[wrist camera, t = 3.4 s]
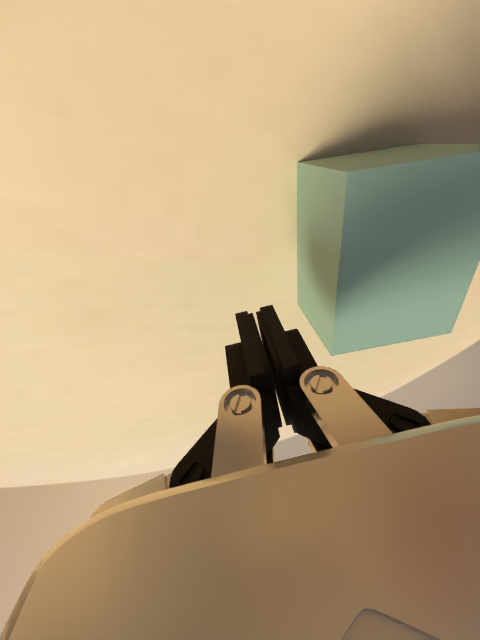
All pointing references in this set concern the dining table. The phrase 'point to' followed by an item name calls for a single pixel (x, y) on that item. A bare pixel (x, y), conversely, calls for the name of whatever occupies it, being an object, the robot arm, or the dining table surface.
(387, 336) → the block
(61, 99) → the dining table surface
